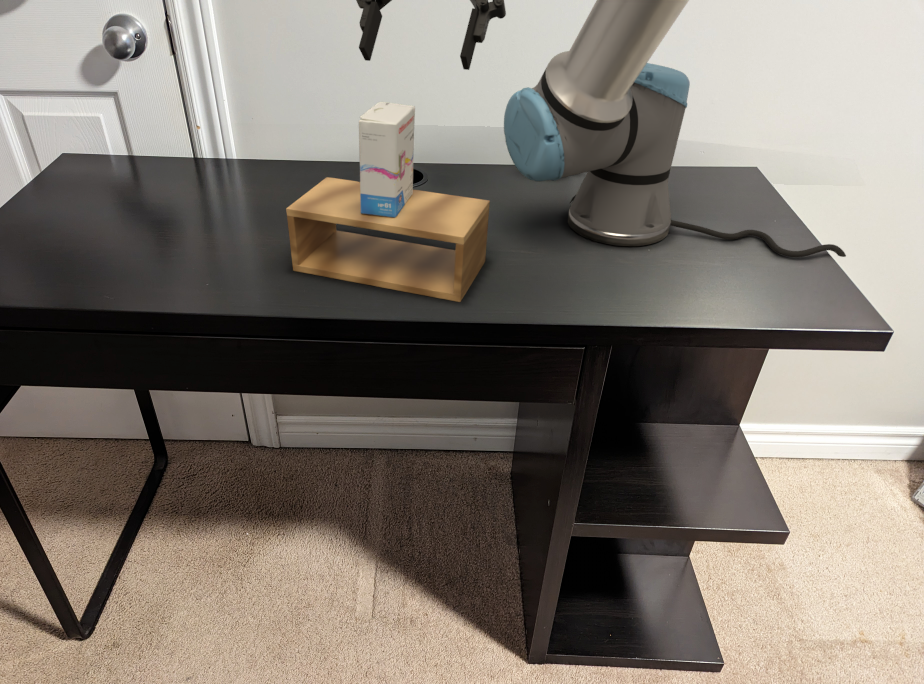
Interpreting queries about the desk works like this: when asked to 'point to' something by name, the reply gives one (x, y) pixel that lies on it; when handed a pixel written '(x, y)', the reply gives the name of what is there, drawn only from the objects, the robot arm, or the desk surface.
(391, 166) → the ink box
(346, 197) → the oak stand
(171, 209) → the desk surface
